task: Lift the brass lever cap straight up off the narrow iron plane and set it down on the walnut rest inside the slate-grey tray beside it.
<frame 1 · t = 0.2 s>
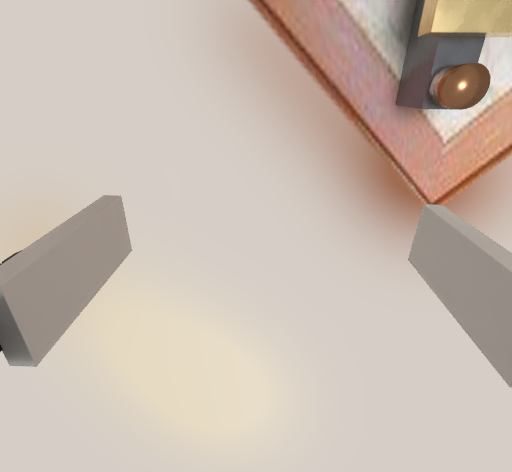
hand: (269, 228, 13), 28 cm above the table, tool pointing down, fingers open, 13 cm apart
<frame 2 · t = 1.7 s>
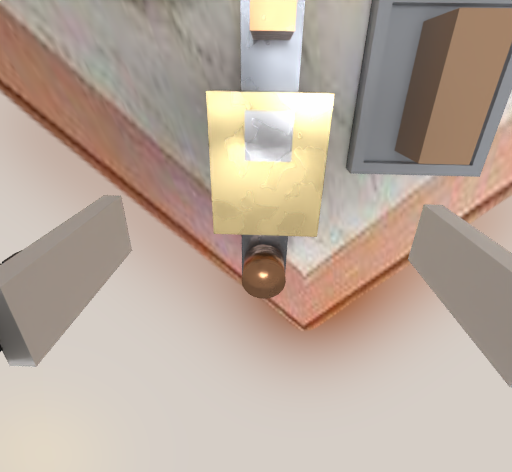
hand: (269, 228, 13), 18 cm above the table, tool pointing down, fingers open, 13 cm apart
lever cap: (267, 162, 23), point 7 cm above the table, touching plane
plane: (267, 145, 29), on the table
tray: (425, 91, 27), on the table
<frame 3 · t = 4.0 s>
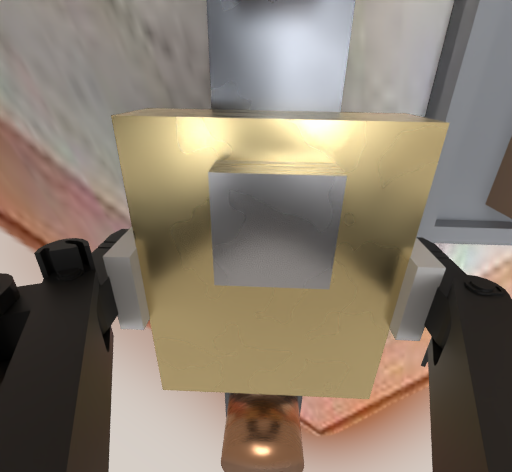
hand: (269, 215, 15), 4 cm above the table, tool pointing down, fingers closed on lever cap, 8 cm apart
lever cap: (269, 250, 12), point 7 cm above the table, touching gripper, plane
plane: (269, 192, 18), on the table
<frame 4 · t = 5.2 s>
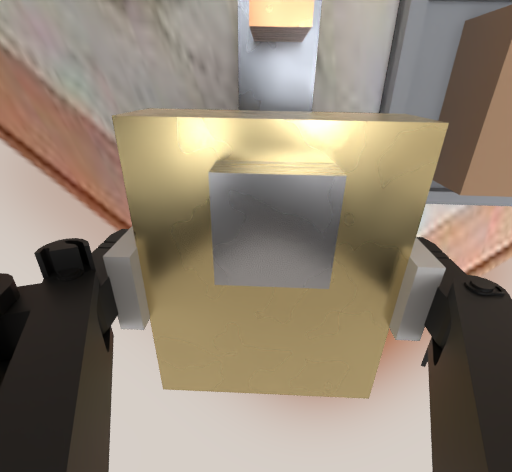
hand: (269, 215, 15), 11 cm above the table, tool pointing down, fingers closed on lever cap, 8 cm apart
lever cap: (269, 250, 12), point 15 cm above the table, touching gripper
plane: (271, 168, 25), on the table
tray: (462, 105, 22), on the table
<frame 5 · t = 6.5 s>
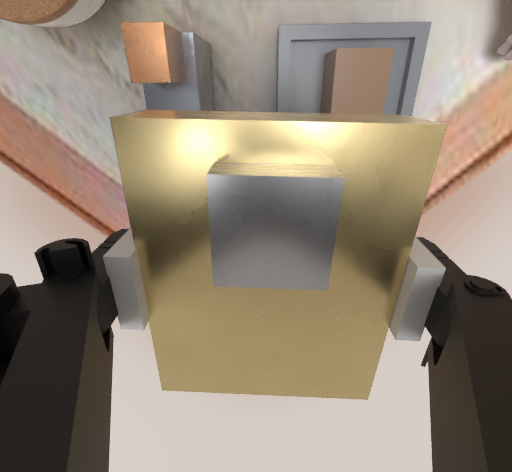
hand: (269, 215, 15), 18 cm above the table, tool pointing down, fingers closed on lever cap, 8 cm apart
lever cap: (268, 251, 12), point 21 cm above the table, touching gripper
plane: (200, 167, 32), on the table
tray: (339, 115, 29), on the table
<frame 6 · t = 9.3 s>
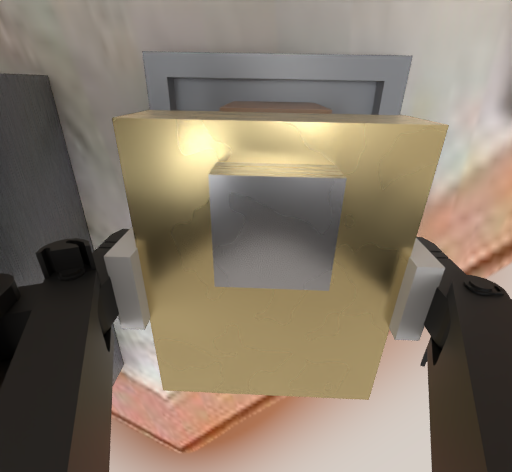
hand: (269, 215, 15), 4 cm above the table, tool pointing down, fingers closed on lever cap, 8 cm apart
lever cap: (269, 251, 12), point 7 cm above the table, touching gripper
plane: (66, 253, 21), on the table
tray: (269, 190, 18), on the table
when the fingers open (4 cm above the table, at t = 9.6 s): lever cap drops 1 cm, resting on tray.
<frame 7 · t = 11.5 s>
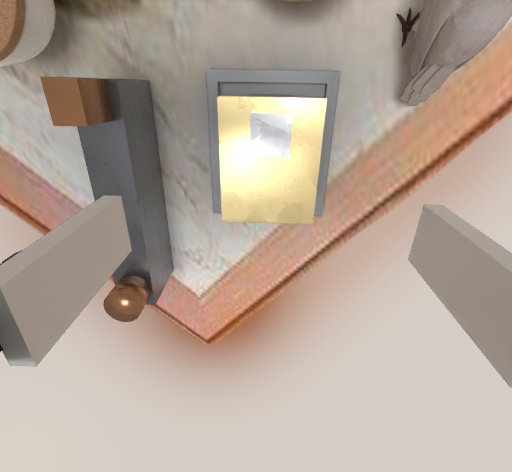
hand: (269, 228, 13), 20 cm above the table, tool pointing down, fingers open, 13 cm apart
lever cap: (269, 159, 26), point 6 cm above the table, touching tray
plane: (145, 188, 34), on the table
lidded jar: (20, 3, 27), on the table
bird: (421, 22, 26), on the table
tray: (269, 146, 32), on the table
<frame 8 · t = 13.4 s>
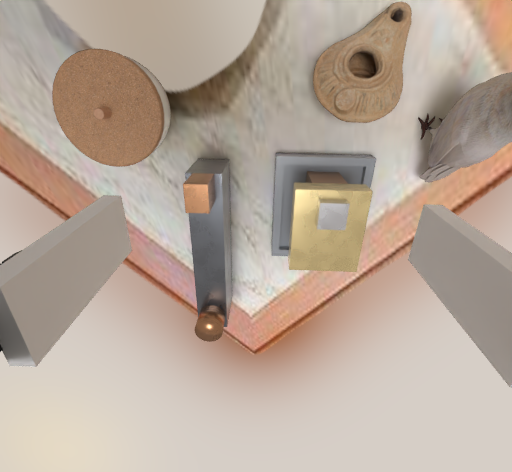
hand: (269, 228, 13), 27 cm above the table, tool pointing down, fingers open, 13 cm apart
lever cap: (324, 223, 36), point 6 cm above the table, touching tray
plane: (217, 234, 44), on the table
lidded jar: (138, 107, 36), on the table
bird: (435, 122, 36), on the table
tray: (317, 205, 41), on the table
pottery oil lamp: (360, 64, 34), on the table
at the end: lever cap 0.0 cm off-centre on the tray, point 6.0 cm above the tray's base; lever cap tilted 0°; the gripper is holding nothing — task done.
